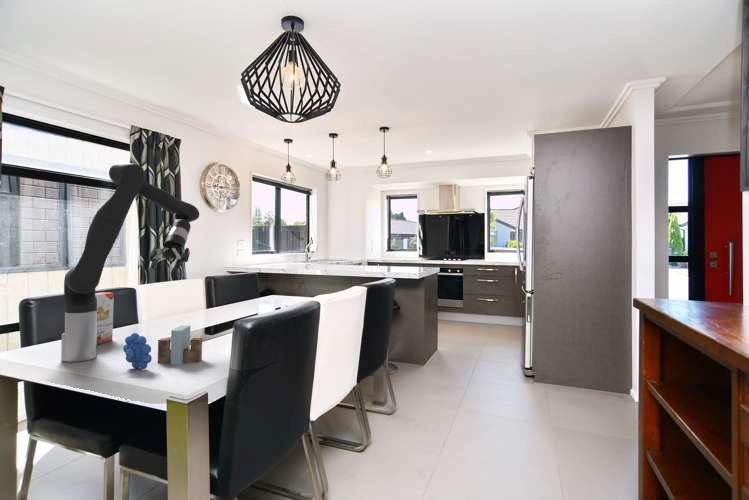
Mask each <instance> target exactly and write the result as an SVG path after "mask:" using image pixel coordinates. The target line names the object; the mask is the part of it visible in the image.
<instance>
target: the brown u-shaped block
mask: <svg viewBox="0 0 749 500" xmlns="http://www.w3.org/2000/svg"><path fill="white" fill-rule="evenodd" d="M201 361H203V338H202V337H193V338H192V339H190V349H185V350H183V363H200V362H201ZM157 363H158V364H163V363H165V364H167V363H169V364H171V337H170V338H167V337H166V338H165V337H164V338H163V337H161V338H160V339H158V340H157Z"/></svg>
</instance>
